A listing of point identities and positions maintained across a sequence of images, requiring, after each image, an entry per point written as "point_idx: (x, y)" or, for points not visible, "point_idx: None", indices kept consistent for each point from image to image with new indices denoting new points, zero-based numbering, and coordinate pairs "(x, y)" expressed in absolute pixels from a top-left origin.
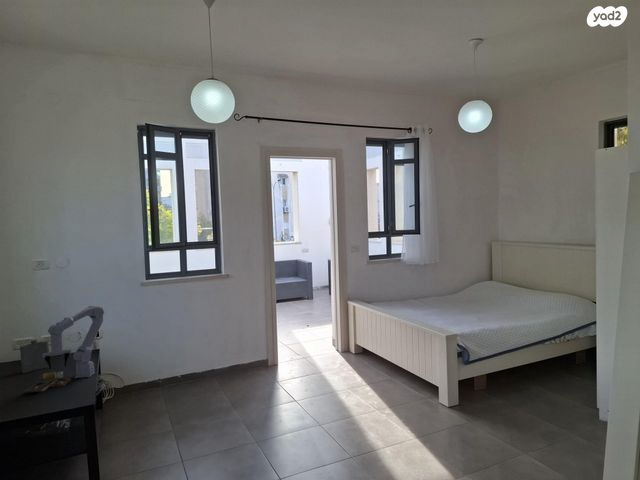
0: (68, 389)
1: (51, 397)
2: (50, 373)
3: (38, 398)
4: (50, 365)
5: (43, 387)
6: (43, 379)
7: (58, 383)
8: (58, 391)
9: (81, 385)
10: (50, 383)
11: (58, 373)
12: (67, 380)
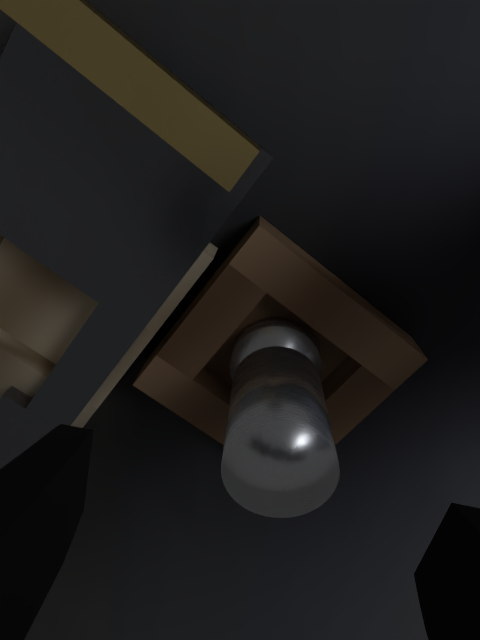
0: (299, 559)
1: (133, 623)
2: (143, 120)
3: None
4: (32, 613)
5: None
6: (43, 66)
7: None
8: (208, 539)
9: None
10: None
11: (246, 508)
12: (359, 411)
